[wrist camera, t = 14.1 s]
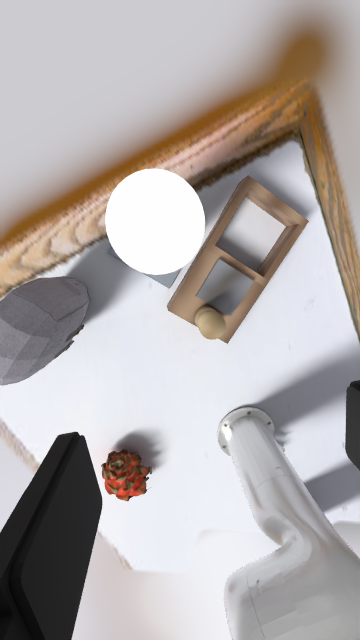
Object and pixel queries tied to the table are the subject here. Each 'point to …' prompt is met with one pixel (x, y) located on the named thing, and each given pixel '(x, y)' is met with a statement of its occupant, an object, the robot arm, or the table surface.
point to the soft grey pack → (39, 325)
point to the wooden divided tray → (232, 269)
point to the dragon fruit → (125, 475)
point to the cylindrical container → (155, 221)
